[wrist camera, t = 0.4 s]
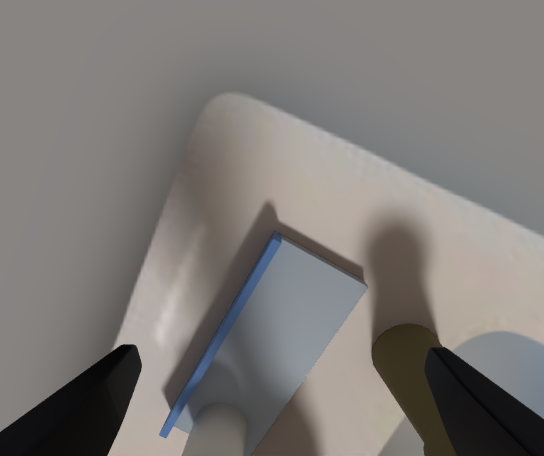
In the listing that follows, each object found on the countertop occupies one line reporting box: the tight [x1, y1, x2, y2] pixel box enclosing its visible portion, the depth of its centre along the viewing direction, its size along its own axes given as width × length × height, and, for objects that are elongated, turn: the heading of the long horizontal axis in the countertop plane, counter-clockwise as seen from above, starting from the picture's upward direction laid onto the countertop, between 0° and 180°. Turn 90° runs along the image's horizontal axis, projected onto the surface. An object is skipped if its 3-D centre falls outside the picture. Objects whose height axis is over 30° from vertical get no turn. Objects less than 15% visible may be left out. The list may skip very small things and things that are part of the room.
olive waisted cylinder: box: [372, 324, 457, 456], centre depth 19 cm, size 6×6×11 cm
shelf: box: [159, 231, 368, 456], centre depth 24 cm, size 21×9×2 cm, turn 151°
